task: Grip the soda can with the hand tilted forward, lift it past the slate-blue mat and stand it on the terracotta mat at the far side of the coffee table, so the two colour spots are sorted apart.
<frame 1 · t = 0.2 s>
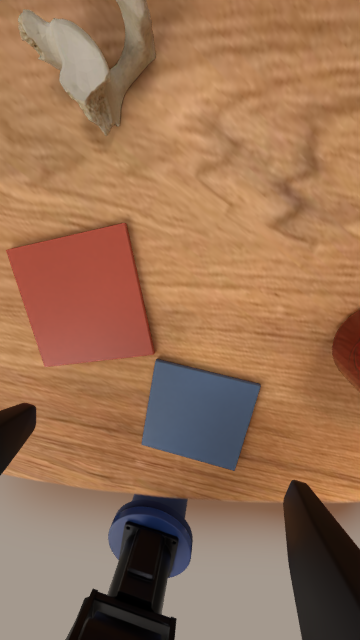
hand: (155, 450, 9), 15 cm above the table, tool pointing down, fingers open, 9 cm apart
terracotta mat: (82, 301, 24), on the table
bone: (111, 91, 20), on the table
slate-blue mat: (196, 414, 26), on the table
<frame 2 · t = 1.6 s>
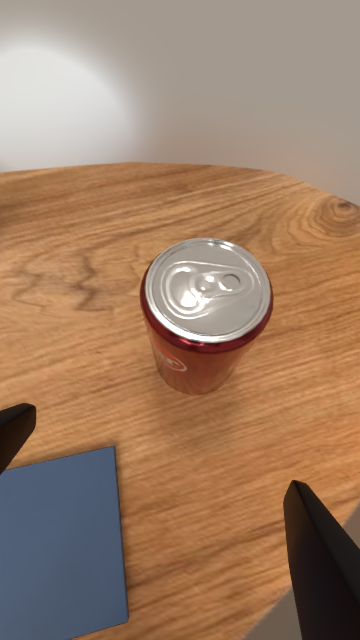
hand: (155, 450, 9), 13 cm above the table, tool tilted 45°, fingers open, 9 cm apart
soda can: (194, 357, 24), on the table
slate-blue mat: (49, 539, 18), on the table
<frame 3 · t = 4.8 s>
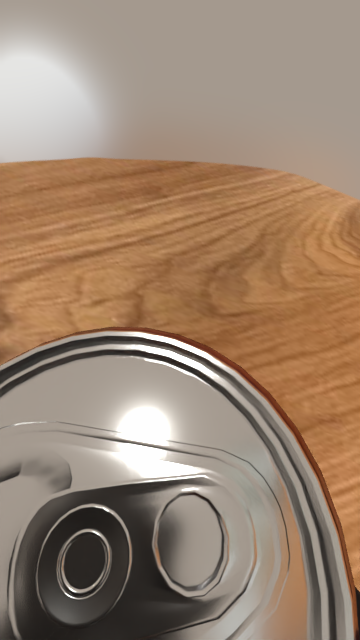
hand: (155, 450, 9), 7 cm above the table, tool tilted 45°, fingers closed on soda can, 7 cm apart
soda can: (156, 479, 14), on the table, touching gripper
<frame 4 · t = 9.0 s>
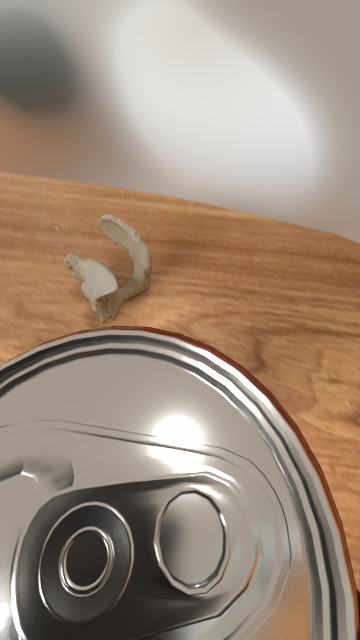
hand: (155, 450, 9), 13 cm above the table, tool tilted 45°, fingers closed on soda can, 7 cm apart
soda can: (156, 479, 14), point 6 cm above the table, touching gripper
bone: (113, 299, 27), on the table
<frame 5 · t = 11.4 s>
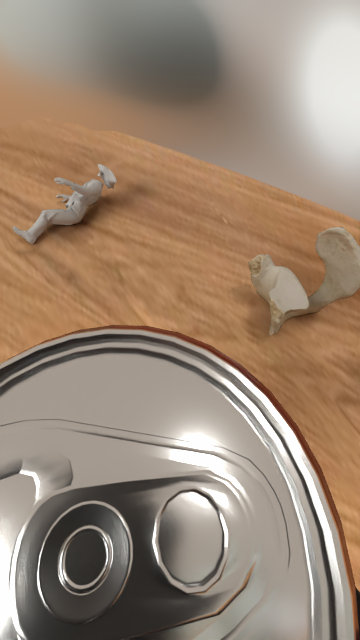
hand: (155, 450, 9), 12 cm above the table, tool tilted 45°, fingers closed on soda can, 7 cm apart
soda can: (156, 478, 14), point 5 cm above the table, touching gripper
bone: (276, 312, 25), on the table
soldier figure: (74, 222, 30), on the table
when the fingers open (7 cm above the table, at t = 13.3 s): soda can stays where it is, resting on terracotta mat.
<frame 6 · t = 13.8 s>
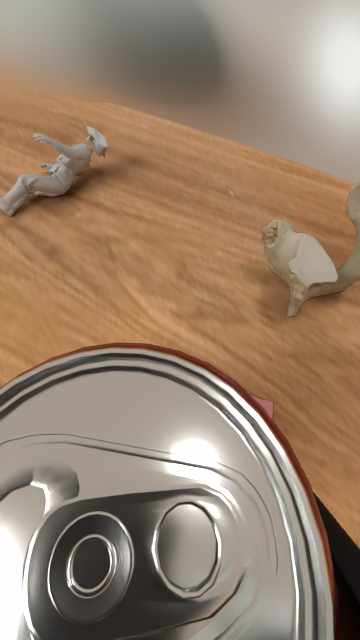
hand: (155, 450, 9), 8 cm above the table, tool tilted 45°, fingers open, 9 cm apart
soda can: (156, 482, 14), resting on terracotta mat
bone: (293, 292, 21), on the table
soldier figure: (60, 194, 27), on the table
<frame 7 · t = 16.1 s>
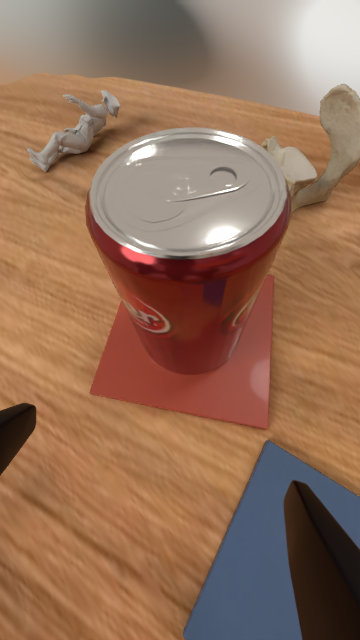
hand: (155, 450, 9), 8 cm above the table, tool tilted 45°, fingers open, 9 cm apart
terracotta mat: (190, 331, 20), on the table
soda can: (189, 330, 19), resting on terracotta mat
bone: (285, 205, 26), on the table
soldier figure: (83, 152, 32), on the table
slate-blue mat: (318, 589, 13), on the table
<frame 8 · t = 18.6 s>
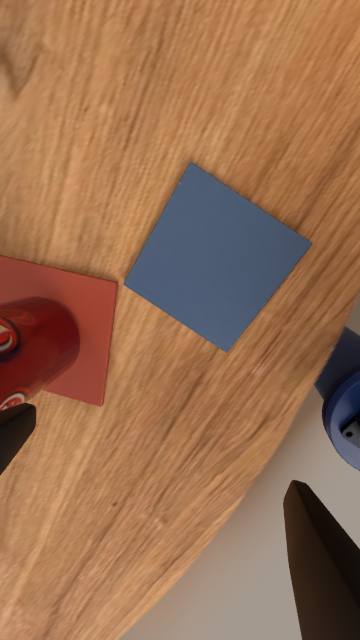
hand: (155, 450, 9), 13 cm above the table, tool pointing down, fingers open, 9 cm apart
terracotta mat: (49, 332, 23), on the table
soda can: (48, 333, 23), resting on terracotta mat
slate-blue mat: (210, 265, 19), on the table
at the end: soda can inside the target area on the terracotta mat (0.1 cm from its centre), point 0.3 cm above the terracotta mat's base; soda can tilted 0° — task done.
